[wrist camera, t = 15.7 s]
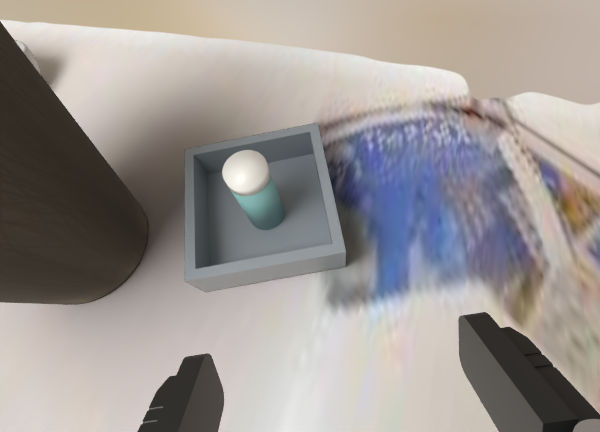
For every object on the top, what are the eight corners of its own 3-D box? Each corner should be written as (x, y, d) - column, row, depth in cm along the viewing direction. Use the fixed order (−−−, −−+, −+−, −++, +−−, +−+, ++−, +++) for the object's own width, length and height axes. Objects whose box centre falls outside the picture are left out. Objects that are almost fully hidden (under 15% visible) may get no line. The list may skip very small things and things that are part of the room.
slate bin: (320, 149, 49) (317, 122, 43) (345, 266, 41) (346, 251, 36) (201, 173, 50) (184, 149, 44) (205, 292, 42) (184, 281, 36)
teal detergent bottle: (281, 194, 45) (264, 145, 35) (287, 225, 43) (270, 183, 33) (247, 201, 45) (220, 155, 36) (251, 233, 43) (224, 193, 33)
